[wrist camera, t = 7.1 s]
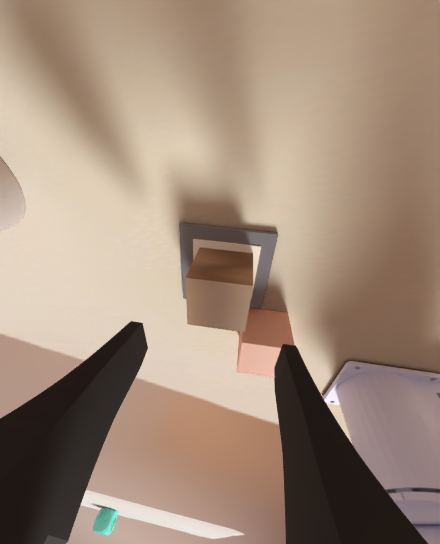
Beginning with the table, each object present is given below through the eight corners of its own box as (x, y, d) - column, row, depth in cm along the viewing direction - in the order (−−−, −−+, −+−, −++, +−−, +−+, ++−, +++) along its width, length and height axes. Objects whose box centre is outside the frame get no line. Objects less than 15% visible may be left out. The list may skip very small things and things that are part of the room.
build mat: (277, 232, 15) (278, 235, 14) (261, 305, 19) (261, 309, 18) (181, 222, 15) (178, 225, 15) (184, 295, 19) (183, 299, 19)
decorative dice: (114, 509, 107) (105, 533, 100) (119, 512, 111) (111, 536, 105) (100, 506, 108) (90, 530, 101) (105, 509, 112) (96, 532, 106)
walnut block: (253, 253, 15) (253, 286, 12) (246, 294, 18) (244, 332, 14) (199, 247, 16) (185, 277, 12) (199, 289, 18) (187, 324, 15)
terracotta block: (287, 312, 19) (295, 350, 16) (278, 340, 21) (283, 379, 18) (243, 306, 19) (241, 342, 16) (239, 335, 21) (236, 371, 18)
